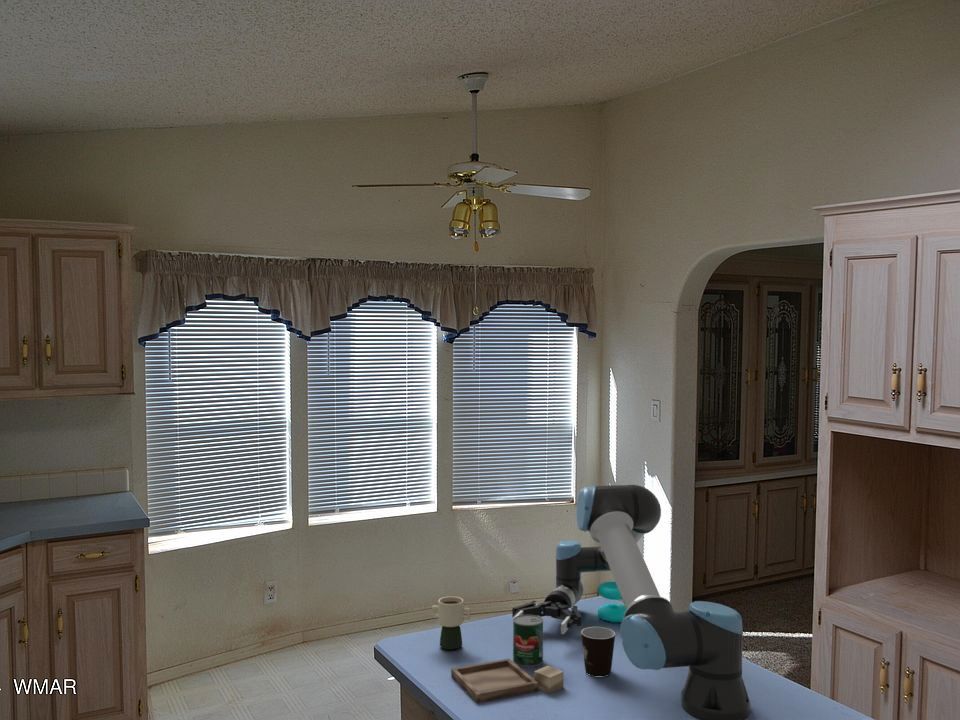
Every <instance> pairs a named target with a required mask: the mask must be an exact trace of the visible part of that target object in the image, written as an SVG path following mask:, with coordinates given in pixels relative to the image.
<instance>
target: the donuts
mask: <svg viewBox="0 0 960 720" xmlns="http://www.w3.org/2000/svg"><path fill="white" fill-rule="evenodd" d="M597 592H598V594H599V595H600V596H601V597H602V598H604V599H607V600H611V601H621V600H622V597H621V595H620V592H619V590H618V587H617V585H616V582H615V581H606V582H605V581H604V582H602V583H600V584H599V585H598V586H597ZM622 601H623V600H622ZM625 612H626V607H625V605H623V604H620V603H615V602H614V603H612V602H611V603H606V604H603V605H601V606H600V607H598V610H597V615H598V617H599V618H600V619H601V620H602V621H605V620H606V621H605V622H608V621H610V622H609V623H622V620H623V619H624V614H625Z"/></svg>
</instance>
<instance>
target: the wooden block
mask: <svg viewBox="0 0 960 720" xmlns="http://www.w3.org/2000/svg"><path fill="white" fill-rule="evenodd" d="M533 672H534V673H533V676H534V677H533V679H534V680H535V681H537V682H538V690H541V691H542V692H544V693H548V694H553V693H555V692H557V691H559V690H561V689H563V688H564V684H565V683H564V679H565V678H564V674H565V673H564V671H563V670H560V669H558V668H555V667H554V666H553V667H552V666H550V665H546V666H543V667H541V668H538V669H537V670H534V671H533ZM560 688H561V689H560ZM558 689H559V690H558ZM556 690H557V691H556ZM554 691H555V692H554Z"/></svg>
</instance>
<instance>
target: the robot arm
mask: <svg viewBox="0 0 960 720" xmlns="http://www.w3.org/2000/svg"><path fill="white" fill-rule="evenodd" d="M661 517H662V508H661V504H660V501H659V499H658V498H657V497H656V495H655V494H654V493H653V492H652V491H650V489H648V488H646V487H644V486H642V485H638V484H623V485H621V484H617V485H616V484H615V485H613V484H612V485H592V486H591V485H590V486H585V487H582V488H581V489H580V490H579V493H578V496H577V501H576V522H577V526H578V529H579V530H580V531H581V532H584V533H585V532H589V534H590V537H591V538H592V540H593V541H594V542H596V543H598V544H600V546H586V547H582V544H581V543H580V542H579V541H577V540H561V541H559V542H558V543H557V544H556V549H555V550H556V551H555V572H556V573H555V588H554V589H553V590H552V591H551V592H550V593H549V594H547V596H546V597H545V599H544V601H542V602H541V603H537V601H536V600H532V601H530V602H528V603H524V604H521V605H517V606H515V607H511V608H512V609H511V611H512V612H511V615H512V620H513V619H514V618H515V617H517V616H520V615H536V616H539V617H541V618H543V617H550V618H553V619H557V620H558V619H559V620H563V621H562V622H561V624H560V635H564V634H565V633H566V632H567V631H568V630H569V629H571V628H573V627H575V625H577V627H582V625H583V624H582V623H583V621H582V619H583V618H582V617H583V616H582V615H581V614H580V612H579V610H578V606H577V605H576V604H577V603H578V602H579V601H580V600H581V598H582V596H583V594H584V590H585V589H584V584H583V582H582V580H581V578H582V577H581V573H593V572H594V573H596V572H597V573H598V572H599V573H600V572H611V574H612V578H613V579H614V582H616V585H617V587H618V590H619V592H620V595H621V597H622V602H623V604H624V606H625V607H626V612H625V614H624V619H623V620H622V622H620V623H621V624H620V631H619V634H620V638H621V640H622V642H621V644H622V647H623V650H624V652H625V655H626V656H627V657H626V658H628V660H629V662H631V664H632V665H633V666H635V667H636V668H638V669H640V670H654V671H658V670H662V669H671V668H672V669H673V668H683V667H688V673H687V675H686V676H687V677H686V680H685V682H684V683H685V684H684V686H683V688H682V690H681V693H680V704H681V707H682V709H683V710H684V711H685V712H687V713H688V715H689V714H690V715H691V716H692V717H693V716H694V717H695V718H698V719H700V720H745V719H746V718H747V717H749V715H750V713H751V701H750V698H749V695H748V692H747V691H748V690H747V687H746V685H745V682H744V679H743V635H744V631H743V620H742V616H741V614H740V613H739V612H738V611H737V610H736V609H734V608H731V607H730V606H726V605H724V604H721V603H716V602H712V601H703V600H695V601H693V602H690V604H689V606H688V610H687V611H675V610H674V609H673V606H672V604H671V602H670V601H669V599H667V598H665V597H662V596H661V595H660V592H659V591H658V590H659V589H658V588H657V586H656V583H655V582H654V579H653V577H652V574H651V573H650V570H649V569H648V566H647V563H646V561H645V559H644V557H643V554H642V553H641V550H640V547H639V545H638V542H639V541H640V540H641V539H642V538H643V536H644V535H645V534H649V533H651V532H652V531H653V530H654V529H655V528H656V527H657V526H658V524H659V523H660V519H661Z"/></svg>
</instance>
